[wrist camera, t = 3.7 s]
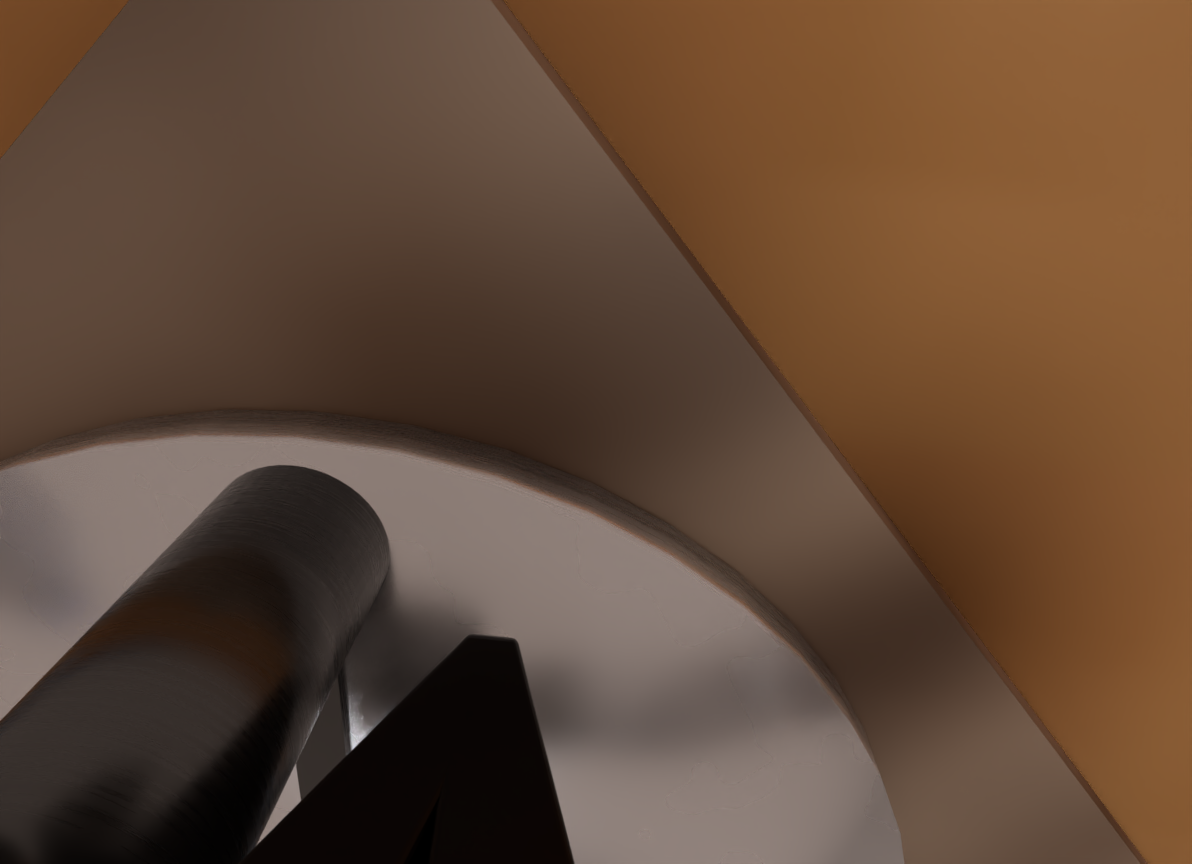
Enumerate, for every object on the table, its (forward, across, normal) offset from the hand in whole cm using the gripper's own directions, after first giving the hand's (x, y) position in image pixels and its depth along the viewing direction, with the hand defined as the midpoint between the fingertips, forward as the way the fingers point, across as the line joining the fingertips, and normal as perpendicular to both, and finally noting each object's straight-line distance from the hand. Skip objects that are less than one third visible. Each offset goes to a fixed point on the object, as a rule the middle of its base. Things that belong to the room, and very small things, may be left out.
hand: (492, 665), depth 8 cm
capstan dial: (+3, +3, +9) cm, 10 cm away
